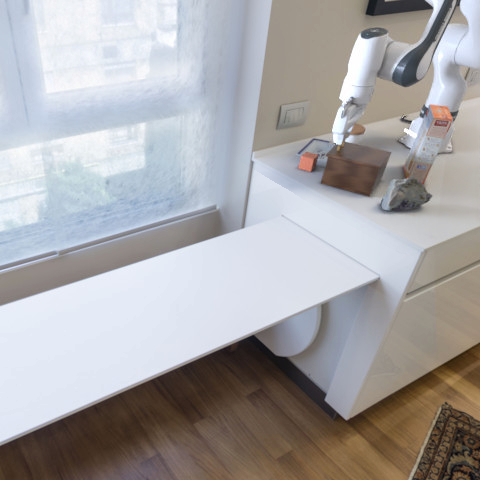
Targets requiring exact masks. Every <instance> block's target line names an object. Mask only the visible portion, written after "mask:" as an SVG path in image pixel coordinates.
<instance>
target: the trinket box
mask: <svg viewBox="0 0 480 480" xmlns="http://www.w3.org/2000/svg"><path fill="white" fill-rule="evenodd" d="M365 132H366V128H365V126H364V125H362V124H359V123H357V122H356V123H355V124H354V126H353V128H352V131H351V133H350V136H349V137H348V138H346V140H345V142H349V143H353V144H358V145H360V143H361V141H362V140H363V137H364V134H365ZM336 141H337V134H334V133H332V142H333V144H334V143H336Z"/></svg>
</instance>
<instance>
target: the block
mask: <svg viewBox="0 0 480 480" xmlns="http://www.w3.org/2000/svg"><path fill="white" fill-rule="evenodd" d="M318 159H319V154H317V153H313V152H309V151H305V152H304V153H303V154H302V155H301V156H300V160H299V165H298V170H303V171H307V172H309V173H310V172H312V171H313V170H314V169H315V168H316V166H317V163H318Z"/></svg>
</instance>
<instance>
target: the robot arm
mask: <svg viewBox="0 0 480 480" xmlns="http://www.w3.org/2000/svg"><path fill="white" fill-rule="evenodd" d="M424 1H425V2H426V3H428V4H429V5H430V6H431V7H432V9H433V10H432V13H431V15H430V17H429V20H428V22H427V24H426V26H425V28H424V30H423V32H422V34H421V37H420V39H419V40H418V41H417V42H415V43H412V44H411V43H407V42H402V41H398V40H395V39H393V38H392V37H390V36H389V30H388V29H386V28H384V27H379V26H377V27H368V28H365V29H363V30H362V31H360V32H359V34H358V36H357V38H356V40H355V42H354V45H353V47H352V50H351V54H350V56H349V60H348V65H347V73H346V76H345V77H344V79H343V83H342V86H341V90H340V94H339V100H341V105H340V106H339V108H338V110H337V112H336V116H335V119H334V122H333V124H332V130H331V133H332V134H337V141H336V144H338V145H341V144H342V143H343V140H344V135H345V133H346V132H347V133H348V134H349V136H350V133H351V131H352V128H353V126H354V124H355V123H356V124H357V123H358V121H360V120H361V119H362V117H363V115H364V113H365V111H366V109H367V106H368V104H369V103H370V102H371V100H372V96H373V95H374V92H375V86H376V84H377V78H378V79H381V80H384V81H388V82H391V83H394V84H396V85H398V86H400V87H403V88H409V87H412V86H414V85H416V84H417V83H419V82H421V81H422V80H423V79H425V77H426V75H427V73H428V71H429V70H430V67H431V64H432V66H433V67H432V68H433V79H432V83H431V87H430V90H429V92H428V94H427V95H428V96H427V98H426V100H425V103H424V104H423V105H422V107H421V109H420V111H419V116H418V117H416V118H414V119H413V120H410V119H406V118H405V117H407V115H406V116H405V117H403V118H402V117H401V121H402V122H405V123H410V125H409V128H408V129H407V128H404V130H403V131H404V132H405V133H406V134H405V135H403V136H402V137H400V138H399V139H398V142H400V143H401V144H402V145H403V144H404V145H405V146H406V147H407V148H409V149H411V147H412V145H413V143H414V140H415V138H416V135H417V133H418V131H419V128H420V126H421V123H422V121H423V118H424V116H425V114H426V111H427V109H428V106H429V105H430V104H432V105H441V106H447V107H448V109H449V111H450V114H451V116H452V118H453V122H452V124H451V126H450V128H449V130H448V132H447V134H446V137H445V139H444V141H443V143H442V145H441V147H440V150H439V152H438V154H441V153H442V154H443V153H446V154H447V153H453V152H452V151H453V145H452V144H453V143H452V140H453V135H454V134H455V131H456V128H455V124H454V122H455V121H456V119H457V117H458V114H459V111H460V109H459V108H460V107H461V104H462V103H463V100H464V98H465V95H466V93H467V91H468V82H467V80H466V79H465V78H464V76H463V74H462V67H466V68H470V69H474V70H480V0H424ZM458 4H459V10H460V12H461V14H462V16H464V17H465V19H466V21H467V24H463V23H458V22H457V23H455V22H454V23H450V22H451V20H452V18H453V16H454V13H455V12H456V9H457V7H458ZM349 136H348V137H349Z"/></svg>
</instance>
